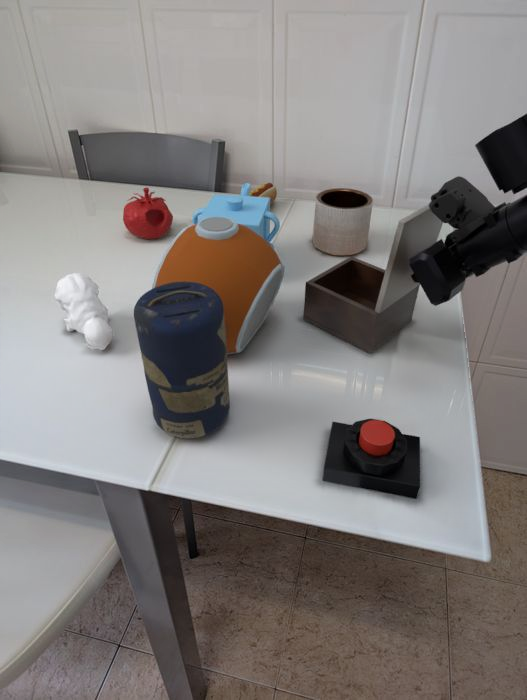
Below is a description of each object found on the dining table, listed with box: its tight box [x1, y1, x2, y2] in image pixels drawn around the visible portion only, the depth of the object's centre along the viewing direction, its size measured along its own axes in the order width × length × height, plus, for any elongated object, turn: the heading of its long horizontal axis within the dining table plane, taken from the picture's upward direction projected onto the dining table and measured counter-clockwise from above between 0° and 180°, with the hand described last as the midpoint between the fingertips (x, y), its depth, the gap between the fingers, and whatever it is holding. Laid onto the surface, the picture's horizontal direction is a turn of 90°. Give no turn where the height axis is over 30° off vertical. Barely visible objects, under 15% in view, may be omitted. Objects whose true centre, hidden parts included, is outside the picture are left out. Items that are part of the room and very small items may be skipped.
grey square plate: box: [375, 203, 444, 313], centre depth 66 cm, size 13×12×1 cm
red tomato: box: [122, 187, 174, 240], centre depth 100 cm, size 10×10×9 cm
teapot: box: [191, 182, 281, 250], centre depth 90 cm, size 18×16×13 cm
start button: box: [359, 419, 395, 456], centre depth 53 cm, size 4×4×2 cm
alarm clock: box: [151, 217, 285, 356], centre depth 71 cm, size 19×18×17 cm
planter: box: [312, 187, 374, 257], centre depth 96 cm, size 11×11×10 cm
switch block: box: [322, 418, 421, 500], centre depth 55 cm, size 10×7×4 cm
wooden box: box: [302, 256, 421, 354], centre depth 76 cm, size 13×12×7 cm
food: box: [250, 182, 278, 206], centre depth 111 cm, size 14×6×5 cm, turn 150°
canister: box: [133, 281, 231, 440], centre depth 56 cm, size 10×10×18 cm
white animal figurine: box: [54, 272, 116, 351], centre depth 72 cm, size 6×8×12 cm
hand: (413, 278), depth 67 cm, fingers closed
